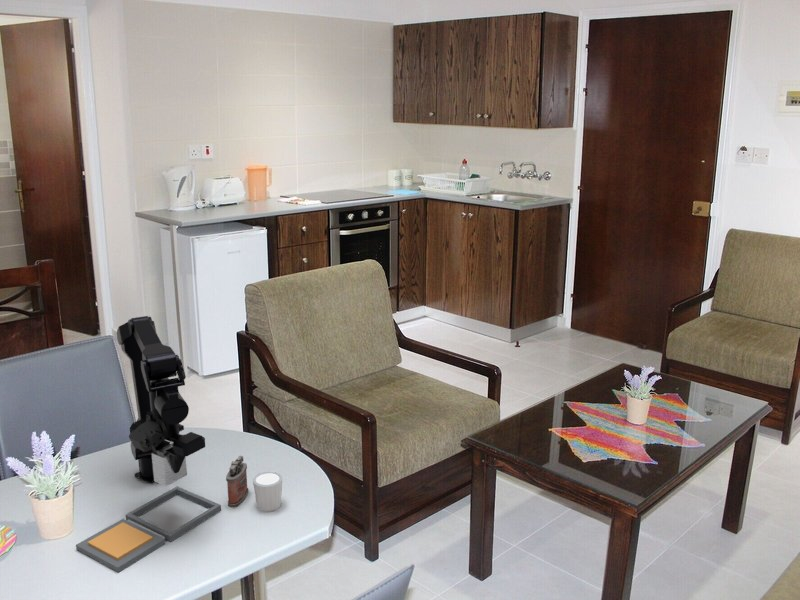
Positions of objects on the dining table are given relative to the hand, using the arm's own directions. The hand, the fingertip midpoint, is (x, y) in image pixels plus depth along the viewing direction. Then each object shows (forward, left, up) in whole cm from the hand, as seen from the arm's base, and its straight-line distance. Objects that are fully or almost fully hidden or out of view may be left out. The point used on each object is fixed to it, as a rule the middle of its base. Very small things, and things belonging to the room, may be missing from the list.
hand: (170, 469), depth 172 cm
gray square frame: (0, 0, -12) cm, 12 cm away
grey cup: (+15, +16, -12) cm, 25 cm away
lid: (0, -14, -12) cm, 19 cm away
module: (0, 0, -2) cm, 2 cm away
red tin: (+7, +14, -12) cm, 19 cm away
